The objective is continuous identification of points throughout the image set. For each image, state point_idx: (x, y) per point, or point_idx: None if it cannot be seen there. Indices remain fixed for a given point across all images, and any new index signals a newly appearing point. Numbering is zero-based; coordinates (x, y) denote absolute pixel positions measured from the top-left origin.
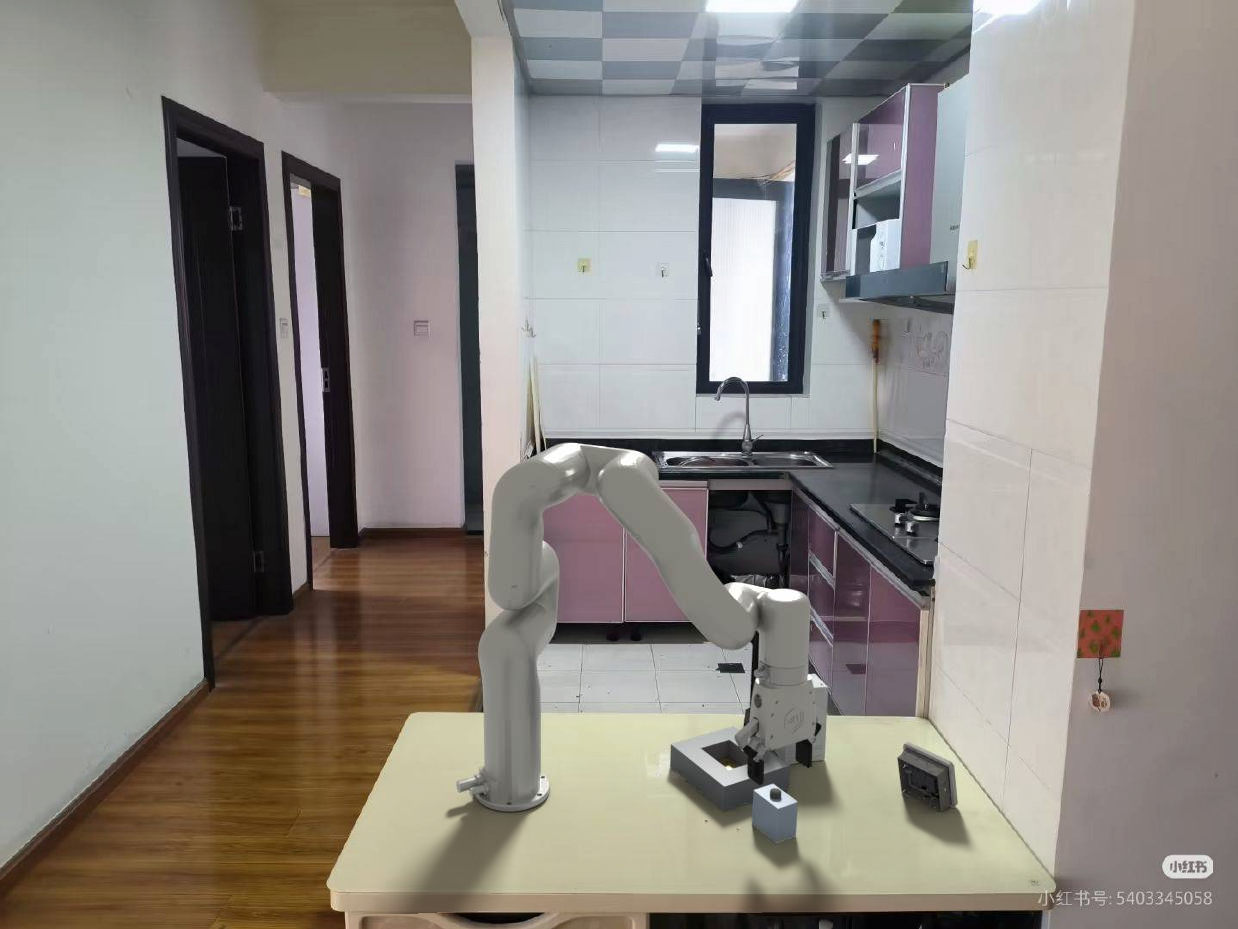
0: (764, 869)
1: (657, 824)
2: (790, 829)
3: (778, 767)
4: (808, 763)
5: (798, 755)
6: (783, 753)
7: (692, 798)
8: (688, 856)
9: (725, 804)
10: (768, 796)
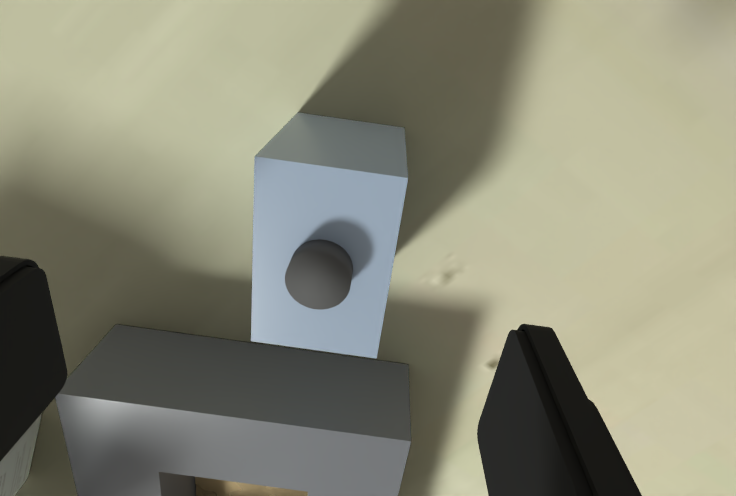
0: (592, 28)
1: (627, 429)
2: (323, 126)
3: (113, 409)
4: (3, 285)
5: (24, 397)
6: (16, 451)
7: (431, 452)
8: (720, 270)
9: (400, 380)
10: (357, 285)
